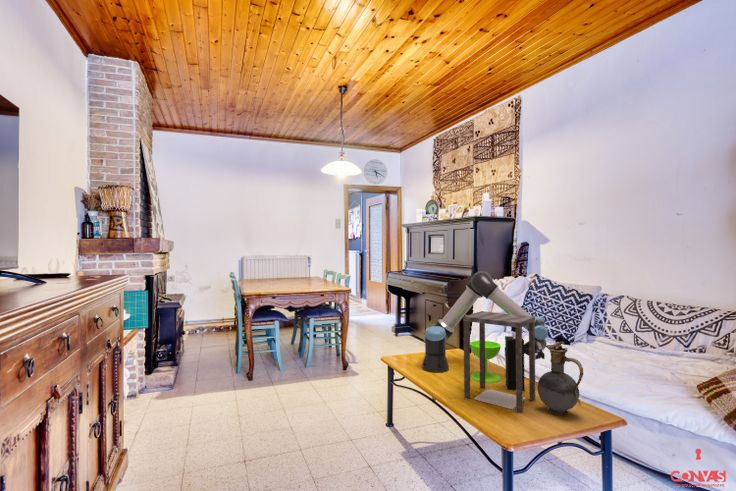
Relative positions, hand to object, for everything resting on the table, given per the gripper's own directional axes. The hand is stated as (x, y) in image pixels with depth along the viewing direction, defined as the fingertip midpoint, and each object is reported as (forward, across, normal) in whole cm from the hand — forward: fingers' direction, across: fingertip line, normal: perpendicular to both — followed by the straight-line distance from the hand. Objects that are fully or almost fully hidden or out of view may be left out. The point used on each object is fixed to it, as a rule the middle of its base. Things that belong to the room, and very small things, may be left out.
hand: (518, 356), depth 197 cm
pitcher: (+23, -25, -15) cm, 37 cm away
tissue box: (+4, +1, -15) cm, 16 cm away
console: (+23, +1, -15) cm, 28 cm away
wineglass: (-1, +18, -15) cm, 24 cm away
